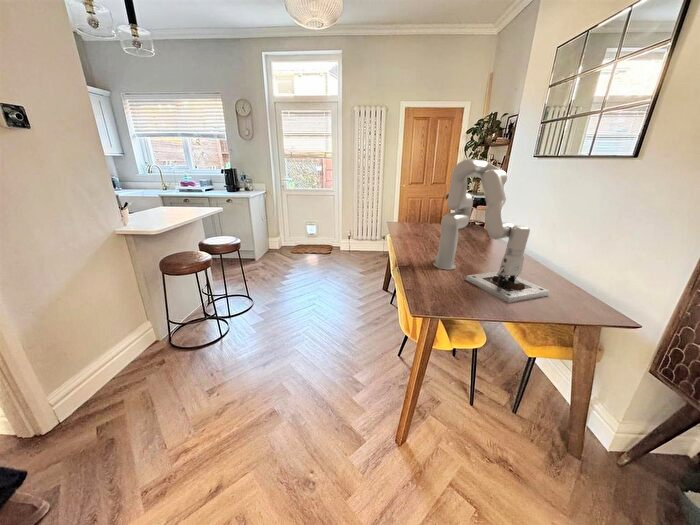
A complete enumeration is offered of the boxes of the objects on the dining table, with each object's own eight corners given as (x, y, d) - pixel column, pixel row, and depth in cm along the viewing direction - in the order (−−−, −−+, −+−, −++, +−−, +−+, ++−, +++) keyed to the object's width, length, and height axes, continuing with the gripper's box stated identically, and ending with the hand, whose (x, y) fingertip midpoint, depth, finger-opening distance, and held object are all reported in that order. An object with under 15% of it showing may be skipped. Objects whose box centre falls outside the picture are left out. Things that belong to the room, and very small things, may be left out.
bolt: (493, 284, 143) (520, 296, 130) (488, 281, 140) (515, 292, 127) (499, 275, 142) (526, 285, 129) (494, 271, 140) (521, 282, 127)
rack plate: (465, 279, 143) (466, 275, 142) (502, 274, 152) (503, 270, 151) (508, 302, 120) (509, 297, 119) (548, 295, 129) (550, 290, 128)
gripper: (508, 255, 123) (499, 291, 129) (534, 252, 129) (524, 287, 135) (494, 250, 130) (486, 285, 136) (520, 248, 135) (511, 281, 142)
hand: (505, 286), depth 135 cm, fingers closed on bolt, 5 cm apart
